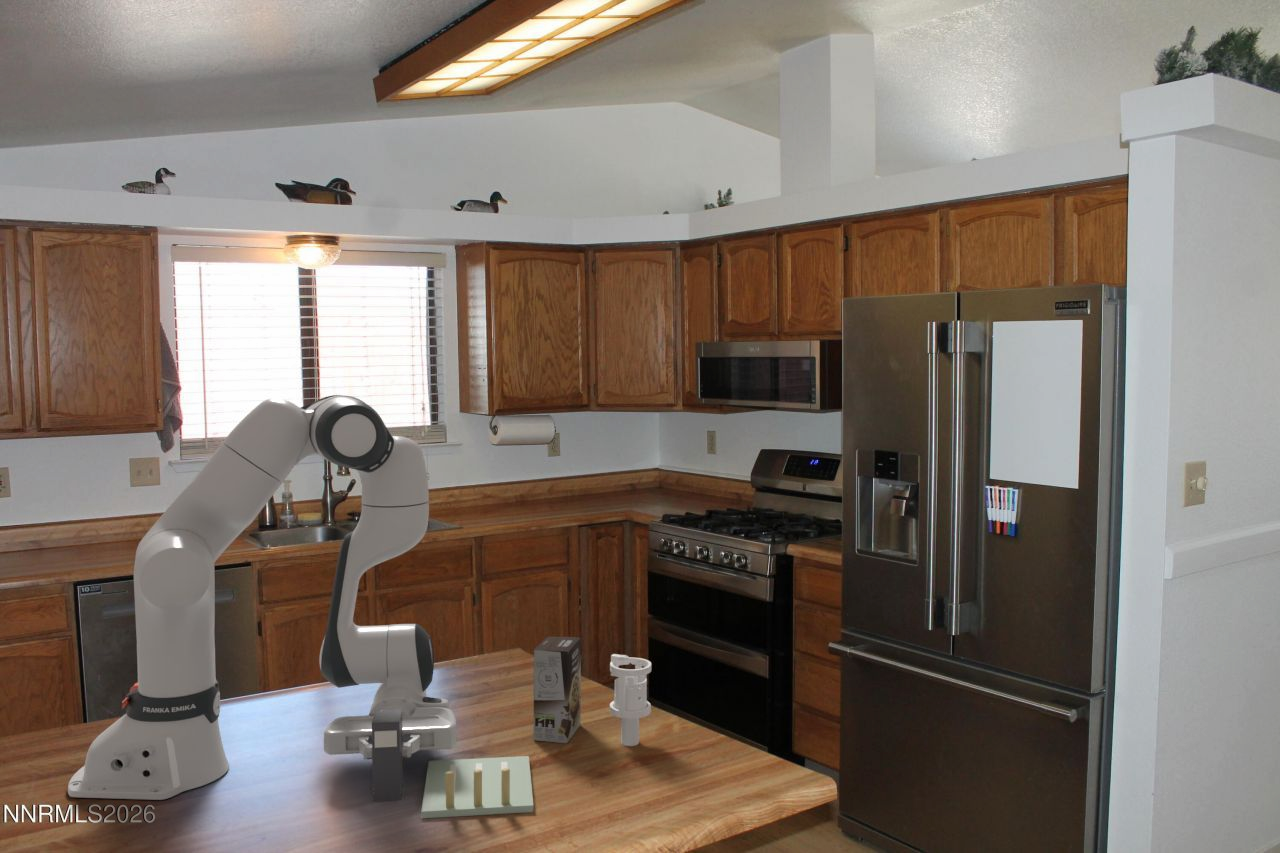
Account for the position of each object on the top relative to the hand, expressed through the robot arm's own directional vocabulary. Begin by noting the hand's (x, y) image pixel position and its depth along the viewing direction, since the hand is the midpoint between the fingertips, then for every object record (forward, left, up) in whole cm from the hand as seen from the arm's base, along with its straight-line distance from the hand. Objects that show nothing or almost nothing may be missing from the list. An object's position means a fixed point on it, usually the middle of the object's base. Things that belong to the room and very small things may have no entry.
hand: (387, 753), depth 153 cm
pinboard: (+14, +1, -7) cm, 15 cm away
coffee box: (+27, +22, -7) cm, 35 cm away
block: (0, +1, -7) cm, 7 cm away
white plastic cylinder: (+39, +16, -7) cm, 43 cm away
